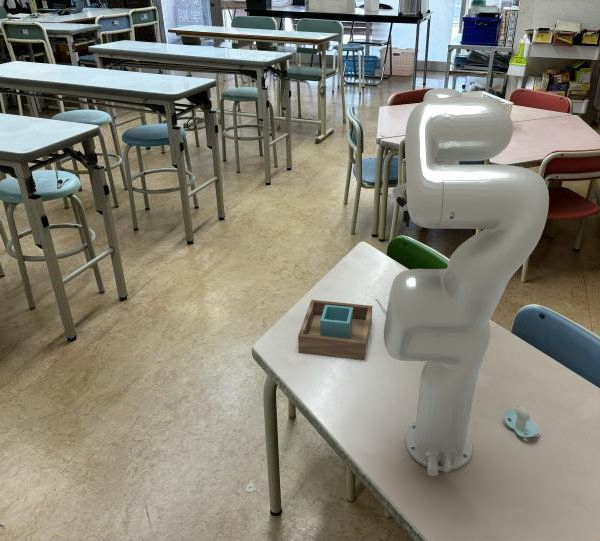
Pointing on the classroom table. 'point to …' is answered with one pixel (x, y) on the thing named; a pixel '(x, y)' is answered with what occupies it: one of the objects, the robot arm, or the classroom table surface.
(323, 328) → the small crate
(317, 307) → the big crate
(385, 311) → the magic wand
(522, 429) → the pacifier
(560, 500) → the classroom table surface
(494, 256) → the robot arm
